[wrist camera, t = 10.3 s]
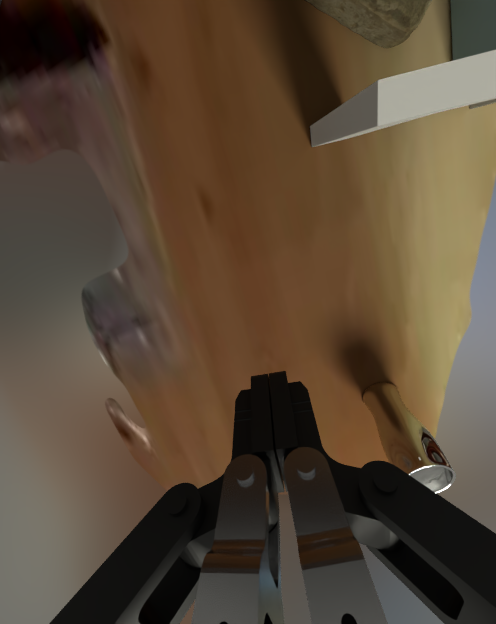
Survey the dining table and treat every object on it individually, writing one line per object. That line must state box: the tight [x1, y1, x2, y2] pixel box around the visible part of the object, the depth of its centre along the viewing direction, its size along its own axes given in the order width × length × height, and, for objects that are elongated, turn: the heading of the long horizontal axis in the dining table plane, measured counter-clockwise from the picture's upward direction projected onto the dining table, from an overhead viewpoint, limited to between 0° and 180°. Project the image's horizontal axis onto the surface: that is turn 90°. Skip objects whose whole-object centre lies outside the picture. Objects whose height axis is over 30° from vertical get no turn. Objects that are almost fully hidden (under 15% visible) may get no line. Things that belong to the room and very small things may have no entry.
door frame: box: [310, 50, 496, 147], centre depth 21 cm, size 18×2×18 cm, turn 102°
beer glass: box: [363, 382, 456, 493], centre depth 42 cm, size 7×7×15 cm
